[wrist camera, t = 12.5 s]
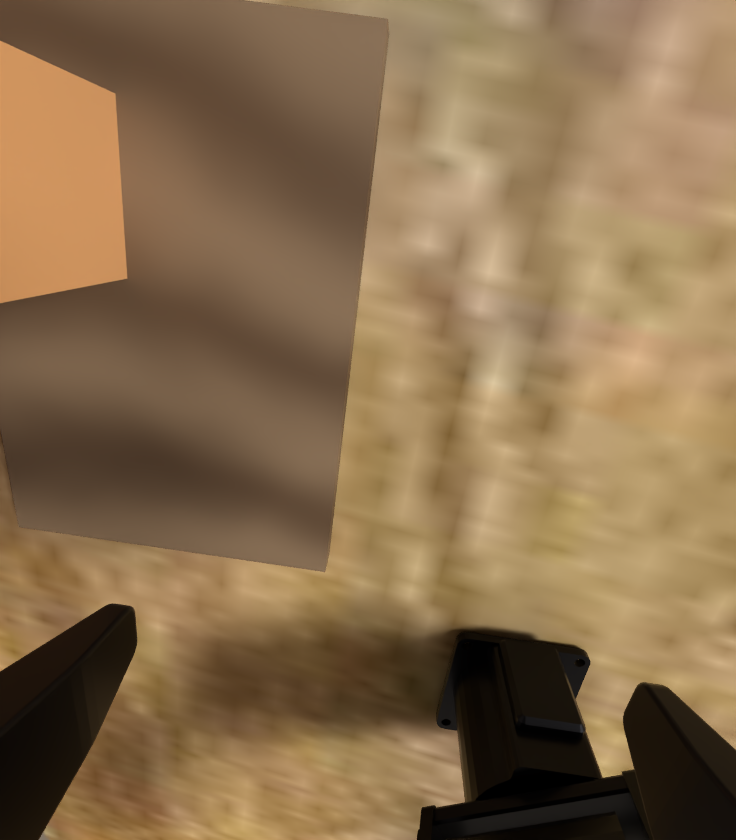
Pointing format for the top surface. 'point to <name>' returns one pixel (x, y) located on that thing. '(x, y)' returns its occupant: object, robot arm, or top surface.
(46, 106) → the square block
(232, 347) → the walnut board
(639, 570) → the top surface
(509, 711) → the robot arm
